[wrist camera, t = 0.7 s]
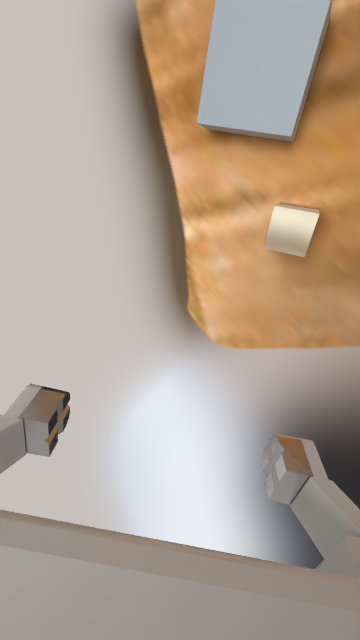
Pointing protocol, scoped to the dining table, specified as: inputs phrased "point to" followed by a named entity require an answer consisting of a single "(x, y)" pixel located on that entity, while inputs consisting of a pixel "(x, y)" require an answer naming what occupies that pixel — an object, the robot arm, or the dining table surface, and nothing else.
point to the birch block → (291, 228)
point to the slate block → (261, 65)
